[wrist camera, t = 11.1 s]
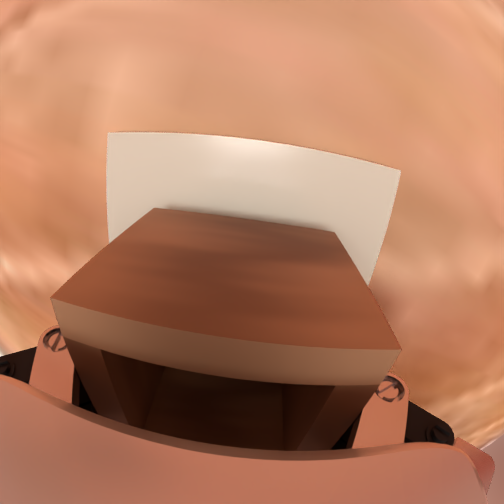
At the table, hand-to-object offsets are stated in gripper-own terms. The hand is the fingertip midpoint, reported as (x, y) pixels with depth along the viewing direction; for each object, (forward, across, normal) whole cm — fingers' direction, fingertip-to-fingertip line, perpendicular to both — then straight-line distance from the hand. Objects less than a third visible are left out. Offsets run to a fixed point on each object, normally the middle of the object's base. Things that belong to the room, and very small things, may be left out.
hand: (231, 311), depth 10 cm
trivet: (+3, 0, 0) cm, 3 cm away
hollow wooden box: (+1, 0, 0) cm, 1 cm away
